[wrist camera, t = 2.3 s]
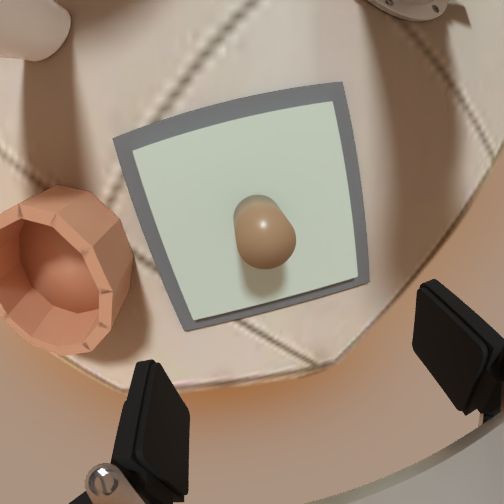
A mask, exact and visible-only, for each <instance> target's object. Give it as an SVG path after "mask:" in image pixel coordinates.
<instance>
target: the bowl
mask: <svg viewBox="0 0 504 504" xmlns="http://www.w3.org/2000/svg"><path fill="white" fill-rule="evenodd" d="M133 258H134V255H133V252H132V250H131V247H130V245H129V242H128V240H127V237H126V234H125V232H124V229H123V226H122V224H121V221H120V219H119V218H118V217H117V216H116V215H115V214H114V213H113V212H112V211H111V210H110V209H108V208H107V207H106V206H105V205H104V204H103V203H102V202H101V201H100V200H99V199H98V198H97V197H96V196H95V195H93V194H92V193H91V192H89V191H84V190H79V189H75V188H70V187H65V186H60V185H56V186H54V187H52V188H50V189H47V190H45V191H43V192H41V193H39V194H37V195H35V196H33V197H31V198H29V199H27V200H25V201H23V202H21V203H19V204H17V205H15V206H13V207H12V208H10V209H8V210H6V211H5V212H3V213H1V214H0V315H1V317H2V318H3V320H4V321H5V322H6V323H7V324H8V325H10V326H11V327H12V328H13V329H14V330H15V331H16V332H17V333H18V334H19V335H21V336H22V337H23V338H24V339H25V340H26V341H28V342H29V343H30V344H32V345H34V346H37V347H39V348H42V349H45V350H47V351H50V352H53V353H55V354H58V355H61V356H65V355H72V354H79V353H86V352H92V351H93V349H94V348H95V347H96V346H97V345H98V344H99V343H100V341H101V340H102V339H103V338H104V337H105V336H106V335H107V334H108V333H109V331H110V330H111V329H112V327H113V324H114V322H115V320H116V318H117V315H118V313H119V311H120V309H121V307H122V305H123V302H124V300H125V298H126V296H127V294H128V292H129V290H130V283H131V274H132V266H133Z"/></svg>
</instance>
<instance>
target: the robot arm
mask: <svg viewBox="0 0 504 504" xmlns="http://www.w3.org/2000/svg"><path fill="white" fill-rule="evenodd" d="M367 1H369V2H370V3H372V4H373V5H375V6H376V7H378V8H379V9H381V10H383V11H385V12H387V13H389V14H391V15H393V16H396V17H398V18H401V19H404V20H409V21H418V22H423V21H428V20H431V19H434V18H436V17H439V16H440V15H441V14H442V13H444V11H445V9H446V8H447V6H448V1H449V0H367ZM412 346H413V350H414V352H415V353H416V354H417V356H418V357H419V358H420V360H421V361H422V362H423V363H424V365H425V366H426V367H427V369H428V370H429V372H430V373H431V374H432V375H433V377H434V378H435V380H436V381H437V382H438V384H439V385H440V386H441V388H442V389H443V390H444V392H445V393H446V394H447V396H448V397H449V399H450V400H451V401H452V403H453V404H454V406H455V407H456V408H457V410H459V411H463V413H464V414H465V415H468V414H469V413H471V412H472V411H474V410H476V409H478V411H479V412H480V418H479V425H478V428H476V429H475V430H473V431H472V432H470V433H468V434H467V435H465V436H464V437H462V438H460V439H459V440H457V441H455V442H454V443H453V444H450V445H449V446H447V447H445V448H443V449H442V450H440V451H438V452H436V453H434V454H432V455H431V456H429V457H427V458H425V459H423V460H421V461H419V462H417V463H415V464H413V465H411V466H409V467H406V468H404V469H402V470H400V471H398V472H395V473H393V474H391V475H389V476H386V477H384V478H381V479H379V480H376V481H374V482H371V483H369V484H366V485H363V486H361V487H358V488H355V489H352V490H349V491H346V492H343V493H340V494H337V495H334V496H330V497H327V498H324V499H320V500H316V501H312V502H309V503H304V504H504V338H502V337H501V336H500V335H499V334H498V333H497V332H496V331H495V330H494V329H493V328H492V327H491V326H490V325H488V324H487V323H486V322H485V321H484V320H483V319H482V318H481V317H480V316H479V315H478V314H476V313H475V312H474V311H473V310H472V309H471V308H470V307H468V306H467V305H466V304H465V303H463V301H461V300H460V299H459V298H458V297H457V296H456V295H454V294H453V293H452V292H451V291H450V290H448V289H447V288H446V287H445V286H444V285H442V284H441V283H440V282H439V281H437V280H436V279H432V280H430V281H427V282H425V283H422V284H421V285H420V289H418V291H417V298H416V311H415V322H414V332H413V341H412ZM189 427H190V414H189V411H188V408H187V406H186V405H185V403H184V402H183V400H182V399H181V397H180V395H179V394H178V392H177V391H176V389H175V387H174V386H173V384H172V382H171V381H170V379H169V377H168V376H167V374H166V372H165V371H164V369H163V367H162V366H161V364H160V363H156V362H155V361H154V360H146V361H140V362H137V363H136V366H135V370H134V374H133V377H132V381H131V385H130V389H129V393H128V397H127V400H126V401H125V403H124V406H123V409H122V413H121V417H120V422H119V426H118V431H117V436H116V440H115V444H114V449H113V454H112V459H111V464H109V463H103V464H98V465H96V466H94V467H93V468H92V469H91V470H90V471H89V472H88V474H87V475H86V479H85V489H86V491H85V492H84V493H83V494H81V495H80V496H78V497H77V498H76V499H74V500H73V501H72V502H70V503H69V504H173V502H184V495H187V494H188V475H189V474H188V470H189V429H190V428H189Z"/></svg>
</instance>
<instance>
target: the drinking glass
mask: <svg viewBox="0 0 504 504" xmlns="http://www.w3.org/2000/svg"><path fill="white" fill-rule="evenodd" d="M70 26H71V18H70V15H69V13H68V11H67V10H66V9H65V8H64V7H62V6H61V5H59V4H58V3H56V2H55V1H54V0H0V58H16V59H23V60H28V61H40V60H43V59H46V58H48V57H49V56H51V55H52V54H54V53H55V52H56V51H57V50H58V49H59V48H60V47H61V45H62V44H63V43H64V41H65V40H66V38H67V36H68V33H69V30H70Z"/></svg>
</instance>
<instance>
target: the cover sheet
mask: <svg viewBox="0 0 504 504" xmlns="http://www.w3.org/2000/svg"><path fill="white" fill-rule="evenodd" d="M133 155H134V158H135V161H136V165H137V168H138V171H139V174H140V178H141V181H142V184H143V187H144V190H145V193H146V196H147V199H148V202H149V205H150V208H151V211H152V214H153V217H154V220H155V223H156V226H157V228H158V231H159V234H160V237H161V240H162V242H163V245H164V248H165V250H166V253H167V256H168V258H169V261H170V264H171V266H172V269H173V271H174V274H175V277H176V279H177V282H178V284H179V287H180V289H181V292H182V294H183V297H184V299H185V301H186V304H187V306H188V309H189V311H190V313H191V316H192V318H193V320H197V319H201V318H206V317H210V316H214V315H219V314H223V313H227V312H231V311H235V310H239V309H243V308H247V307H251V306H255V305H259V304H263V303H267V302H270V301H274V300H278V299H282V298H285V297H289V296H293V295H296V294H300V293H304V292H307V291H311V290H314V289H318V288H321V287H325V286H328V285H332V284H335V283H339V282H342V281H345V280H349V279H352V278H355V277H358V271H357V259H356V247H355V237H354V228H353V219H352V211H351V203H350V196H349V189H348V182H347V175H346V169H345V163H344V157H343V151H342V145H341V140H340V135H339V130H338V125H337V120H336V115H335V110H334V105H333V101H330V102H323V103H316V104H310V105H304V106H298V107H292V108H287V109H281V110H276V111H271V112H266V113H262V114H257V115H253V116H248V117H244V118H240V119H235V120H231V121H227V122H223V123H220V124H216V125H212V126H208V127H205V128H201V129H198V130H194V131H191V132H187V133H184V134H181V135H178V136H174V137H171V138H168V139H165V140H162V141H159V142H156V143H153V144H150V145H147V146H144V147H142V148H139V149H136V150H133Z"/></svg>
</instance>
